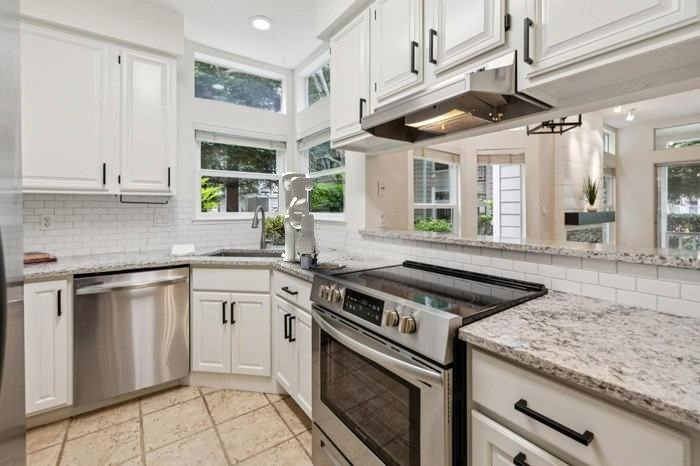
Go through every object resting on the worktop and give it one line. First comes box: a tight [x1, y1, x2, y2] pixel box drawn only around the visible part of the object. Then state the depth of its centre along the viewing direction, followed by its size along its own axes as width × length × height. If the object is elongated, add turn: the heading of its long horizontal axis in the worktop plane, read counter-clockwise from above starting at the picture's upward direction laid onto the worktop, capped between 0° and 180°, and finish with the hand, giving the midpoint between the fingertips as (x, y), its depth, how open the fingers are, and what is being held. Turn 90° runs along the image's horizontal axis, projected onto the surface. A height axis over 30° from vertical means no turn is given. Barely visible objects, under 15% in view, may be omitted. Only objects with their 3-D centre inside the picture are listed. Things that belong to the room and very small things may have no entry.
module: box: [300, 254, 316, 270], centre depth 198 cm, size 5×7×8 cm
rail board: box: [316, 261, 347, 271], centre depth 200 cm, size 12×14×2 cm
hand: (307, 263), depth 198 cm, fingers open, 7 cm apart
